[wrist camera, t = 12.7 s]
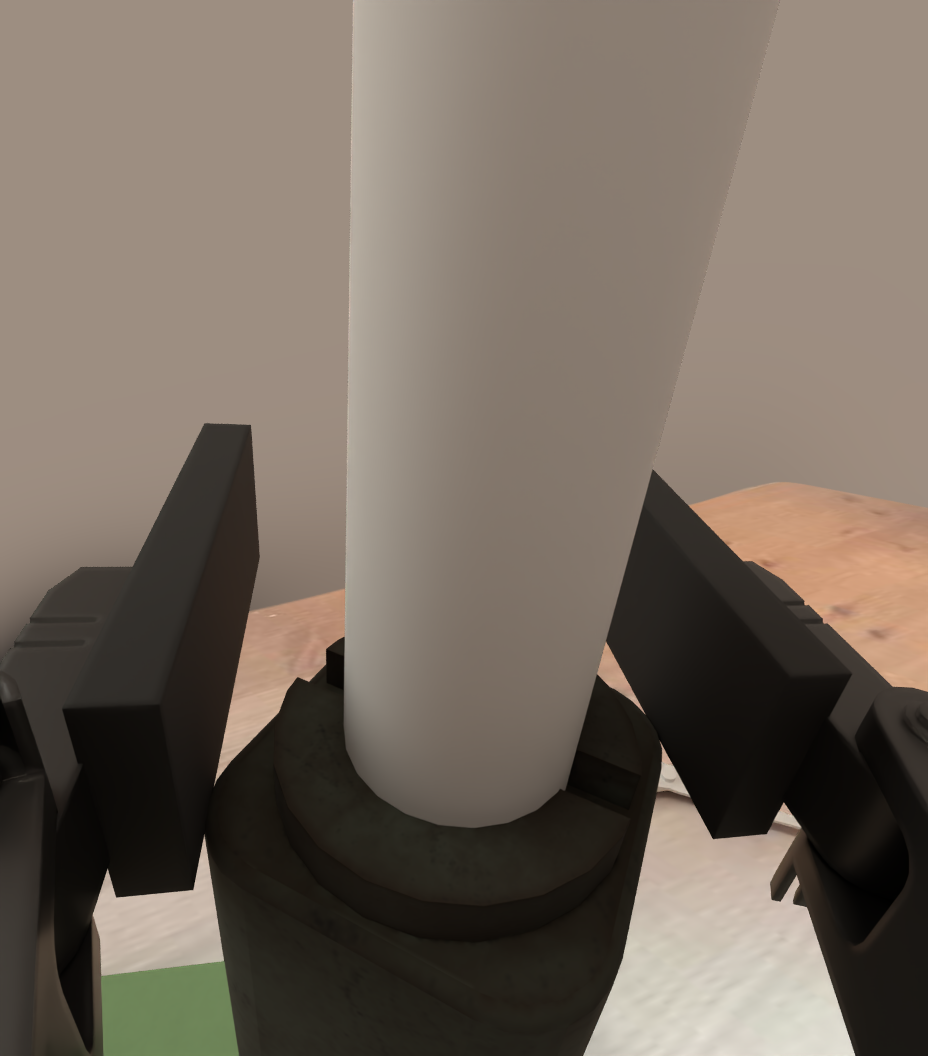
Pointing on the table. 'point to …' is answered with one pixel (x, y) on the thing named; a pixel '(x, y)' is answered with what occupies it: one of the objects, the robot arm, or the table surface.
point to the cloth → (168, 1012)
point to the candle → (485, 531)
